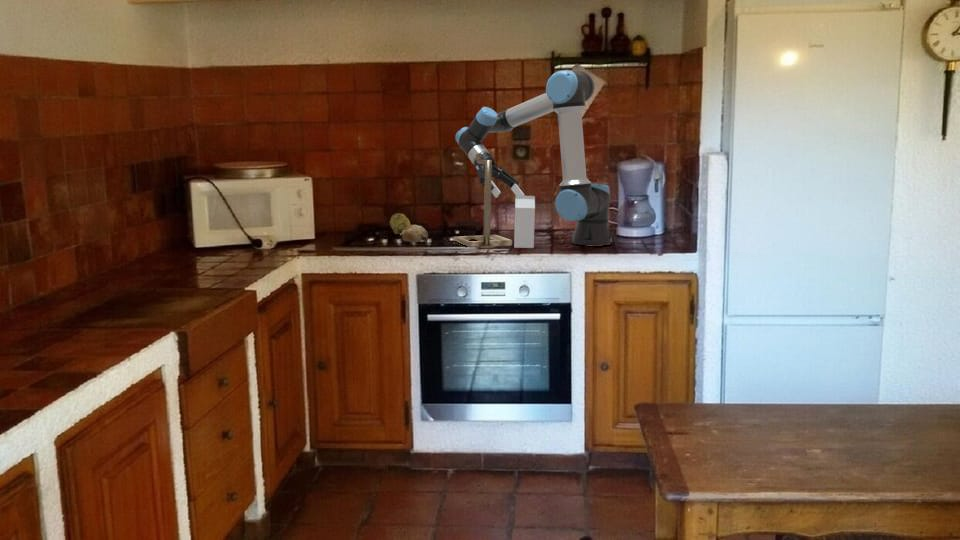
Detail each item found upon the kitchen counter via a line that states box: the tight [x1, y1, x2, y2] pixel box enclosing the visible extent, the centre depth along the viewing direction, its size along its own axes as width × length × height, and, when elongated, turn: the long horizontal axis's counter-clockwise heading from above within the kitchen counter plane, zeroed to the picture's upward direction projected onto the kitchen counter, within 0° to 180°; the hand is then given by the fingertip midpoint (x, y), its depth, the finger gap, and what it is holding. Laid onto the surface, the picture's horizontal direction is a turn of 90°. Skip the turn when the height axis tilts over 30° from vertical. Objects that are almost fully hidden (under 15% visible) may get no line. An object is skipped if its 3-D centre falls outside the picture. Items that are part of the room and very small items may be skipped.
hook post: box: [476, 154, 495, 249], centre depth 340 cm, size 5×11×34 cm, turn 24°
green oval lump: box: [389, 212, 412, 235], centre depth 366 cm, size 8×13×8 cm, turn 8°
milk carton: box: [513, 195, 536, 249], centre depth 341 cm, size 7×7×19 cm
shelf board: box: [452, 234, 513, 248], centre depth 348 cm, size 18×14×2 cm
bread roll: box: [399, 224, 429, 243], centre depth 352 cm, size 10×10×8 cm
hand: (510, 196), depth 345 cm, fingers open, 13 cm apart
